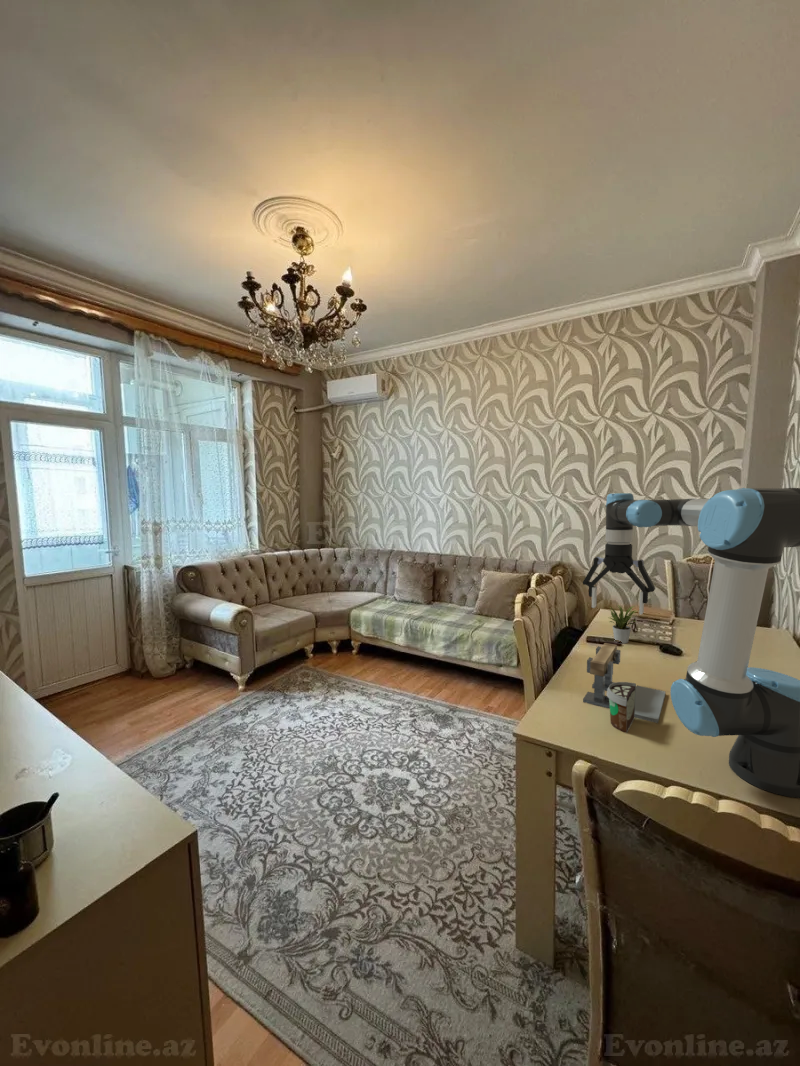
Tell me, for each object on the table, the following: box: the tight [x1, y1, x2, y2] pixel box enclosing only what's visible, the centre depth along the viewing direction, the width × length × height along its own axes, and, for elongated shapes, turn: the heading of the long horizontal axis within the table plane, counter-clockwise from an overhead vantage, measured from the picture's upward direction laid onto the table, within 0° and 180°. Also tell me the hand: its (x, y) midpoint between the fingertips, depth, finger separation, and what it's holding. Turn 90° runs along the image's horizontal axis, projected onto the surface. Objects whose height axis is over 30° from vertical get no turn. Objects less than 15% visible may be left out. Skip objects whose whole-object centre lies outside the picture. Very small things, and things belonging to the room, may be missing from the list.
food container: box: [605, 681, 637, 734], centre depth 121 cm, size 12×6×10 cm, turn 141°
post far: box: [591, 645, 621, 692], centre depth 142 cm, size 8×6×13 cm
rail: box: [589, 642, 618, 677], centre depth 137 cm, size 4×20×4 cm, turn 144°
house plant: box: [607, 604, 638, 644], centre depth 186 cm, size 14×14×16 cm
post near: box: [582, 656, 614, 710], centre depth 133 cm, size 8×6×13 cm
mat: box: [634, 684, 667, 724], centre depth 131 cm, size 21×8×1 cm, turn 144°
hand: (617, 610), depth 137 cm, fingers open, 13 cm apart
